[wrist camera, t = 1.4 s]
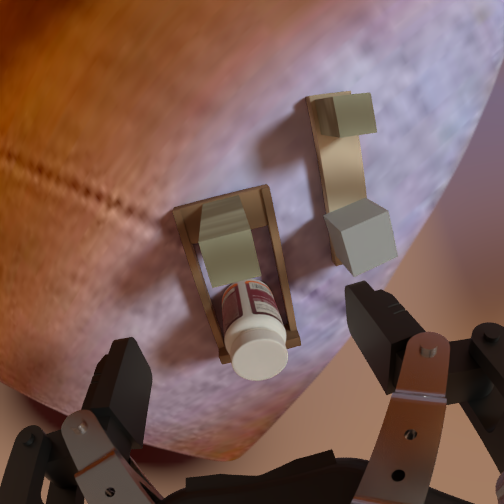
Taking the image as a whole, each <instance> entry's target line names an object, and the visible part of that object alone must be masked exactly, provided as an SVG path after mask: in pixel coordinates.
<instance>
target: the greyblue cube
mask: <svg viewBox="0 0 504 504" xmlns="http://www.w3.org/2000/svg"><path fill="white" fill-rule="evenodd" d="M323 216H324V219H325V222H326V225H327V228H328V232H329V235H330V238H331V241H332V244H333V247H334V250H335V254H336V256H337V258H338V259H339V260H340V261H341V262H342V264H343V265H344V266H345V267H346V268H347V269H348V271H349V272H350V273H351V274H352V275H353V277H355V276H358V275H360V274H362V273H364V272H366V271H368V270H370V269H373V268H375V267H377V266H379V265H381V264H383V263H385V262H387V261H389V260H391V259H393V258H396V257H398V255H397V250H396V245H395V240H394V235H393V230H392V225H391V221H390V216H389V212H388V210H386V209H384V208H383V207H381V206H379V205H377V204H376V203H374V202H372V201H370V200H369V199H367V198H363V199H361V200H358V201H356V202H354V203H351V204H349V205H346V206H344V207H342V208H339V209H337V210H335V211H332V212H330V213H328V214H325V215H323Z"/></svg>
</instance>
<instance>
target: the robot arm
mask: <svg viewBox="0 0 504 504" xmlns="http://www.w3.org/2000/svg"><path fill="white" fill-rule="evenodd" d="M345 301H346V314H347V324H348V328H349V331H350V333H351V335H352V337H353V339H354V340H355V342H356V344H357V345H358V347H359V349H360V350H361V352H362V354H363V355H364V357H365V359H366V360H367V362H368V364H369V366H370V367H371V369H372V371H373V372H374V374H375V375H376V378H377V379H378V381H379V383H380V384H381V386H382V388H383V390H384V391H385V393H386V395H388V394H391V393H392V396H391V400H390V403H389V406H388V409H387V412H386V416H385V418H384V422H383V424H382V428H381V430H380V433H379V436H378V439H377V442H376V445H375V447H374V450H373V452H372V455H371V458H370V460H369V461H368V460H363V459H358V458H335V456H334V453H333V451H332V450H328V451H325V452H321V453H318V454H314V455H311V456H307V457H303V458H299V459H296V460H293V461H291V462H289V463H287V464H285V465H283V466H281V467H279V468H276V469H274V470H272V471H269V472H268V473H265V474H263V475H259V476H245V475H244V476H243V475H227V474H216V475H209V476H201V477H200V476H199V477H190V478H186V488H183V489H180V490H178V491H176V492H174V493H172V494H170V495H168V496H167V497H166V498H164V497H163V496H162V495H161V494H160V493H159V492H158V491H157V490H156V489H155V487H154V486H153V485H152V484H151V482H150V481H149V480H148V479H147V477H146V476H145V475H144V473H143V472H142V471H141V470H140V468H139V467H138V466H137V464H136V463H135V462H134V460H133V459H132V458H131V457H130V451H131V449H142V447H143V439H144V432H145V425H146V418H147V411H148V405H149V399H150V392H151V386H152V373H151V369H150V367H149V365H148V363H147V361H146V359H145V357H144V355H143V354H142V352H141V350H140V348H139V346H138V344H137V342H136V340H135V339H134V338H133V337H129V338H123V339H118V340H114V341H113V343H112V345H111V348H110V351H109V354H107V355H105V356H104V357H103V358H102V359H101V360H100V362H99V363H98V364H97V367H96V369H95V372H94V376H93V377H92V380H91V384H90V386H89V388H88V391H87V394H86V397H85V400H84V403H83V406H82V409H81V410H79V411H76V412H74V413H72V414H71V415H69V416H68V417H67V418H66V419H65V421H64V423H63V425H62V429H61V430H58V431H55V432H52V433H49V434H46V433H45V432H44V431H43V430H41V428H40V427H38V426H36V425H31V426H28V427H26V428H24V429H23V430H22V431H21V432H20V433H19V434H18V436H17V437H16V439H15V442H14V445H13V448H12V451H11V454H10V457H9V460H8V463H7V466H6V469H5V473H4V476H3V479H2V483H1V486H0V504H44V503H43V502H42V499H41V489H42V485H43V480H44V476H45V477H46V478H47V479H48V480H50V486H49V490H48V495H47V501H46V504H84V498H85V499H86V501H87V503H88V504H474V503H471V502H468V501H465V500H462V499H460V498H457V497H454V496H451V495H448V494H446V493H444V492H441V491H438V490H436V489H433V488H431V487H429V485H430V481H431V477H432V474H433V470H434V465H435V462H436V457H437V453H438V448H439V444H440V439H441V434H442V428H443V422H444V417H445V410H446V405H449V404H455V403H459V404H460V405H461V407H462V408H463V410H464V412H465V413H466V415H467V416H468V418H469V420H470V421H471V423H472V425H473V426H474V428H475V430H476V431H477V433H478V435H479V436H480V438H481V439H482V441H483V443H484V445H485V447H486V448H487V450H488V452H489V454H490V455H491V457H492V459H493V461H494V462H495V464H496V466H497V468H498V470H499V472H500V474H501V475H500V476H499V478H498V480H497V483H496V495H497V499H498V504H504V327H503V326H501V325H499V324H496V323H482V324H480V325H478V326H476V327H475V328H474V330H473V332H472V336H471V338H470V339H465V340H458V341H451V342H448V340H447V339H446V338H445V337H444V336H442V335H440V334H438V333H434V332H426V331H425V330H424V329H423V328H422V327H421V326H420V325H419V324H418V322H417V321H416V320H415V319H414V318H413V317H412V316H411V315H410V314H409V312H408V311H407V310H405V308H404V307H403V306H402V305H401V304H399V302H398V300H397V299H396V298H395V297H394V296H393V295H392V294H390V293H388V292H385V291H383V290H381V289H380V290H377V291H374V290H373V289H372V288H371V286H370V285H369V284H368V283H367V282H366V281H361V282H357V283H354V284H351V285H347V286H345Z"/></svg>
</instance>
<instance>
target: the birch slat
mask: <svg viewBox="0 0 504 504" xmlns="http://www.w3.org/2000/svg"><path fill="white" fill-rule="evenodd" d="M306 102H307V107H308V111H309V116H310V121H311V126H312V132H313V137H314V142H315V148H316V153H317V159H318V165H319V171H320V177H321V183H322V189H323V196H324V202H325V209H326V214H328V213H330V212H332V211H335V210H337V209H339V208H342V207H344V206H346V205H349V204H351V203H354V202H356V201H358V200H361V199H363V198H367V196H366V187H365V178H364V170H363V162H362V155H361V148H360V141H359V135H362V134H369V133H376V132H377V129H376V122H375V116H374V110H373V104H372V99H371V93H361V94H351V91H346V92H337V93H328V94H320V95H313V96H307V97H306ZM329 238H330V235H329ZM330 246H331V255H332V262H333V263H334V264H335V265H336V266H338V265H342V262H341V261H340V260H339V259H338V258H337V256H336V254H335V250H334V247H333V244H332V241H331V238H330Z"/></svg>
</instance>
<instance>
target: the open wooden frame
mask: <svg viewBox="0 0 504 504" xmlns="http://www.w3.org/2000/svg"><path fill="white" fill-rule="evenodd" d="M172 212H173V215H174V219H175V222H176V225H177V228H178V232H179V235H180V238H181V241H182V244H183V247H184V250H185V254H186V257H187V260H188V263H189V266H190V269H191V272H192V275H193V278H194V281H195V284H196V287H197V290H198V293H199V295H200V298H201V301H202V304H203V307H204V310H205V313H206V315H207V318H208V321H209V324H210V327H211V329H212V332H213V335H214V338H215V340H216V343H217V346H218V348H219V358H220V361H221V363H222V364H226V363H231V357H230V354H229V353H228V351H227V349H226V347H225V342H224V337H223V335H222V332H221V329H220V326H219V323H218V320H217V317H216V314H215V311H214V308H213V305H212V302H211V299H210V296H209V293H208V290H207V287H206V284H205V281H204V278H203V275H202V272H201V268H200V265H199V262H198V259H197V256H196V253H195V249H194V246H193V244H195V243H199V246H200V249H201V253H202V256H203V259H204V263H205V266H206V269H207V272H208V275H209V279H210V282H211V285H212V288H214V287H218V286H222V285H227V284H231V283H235V282H239V281H243V280H247V279H251V278H255V277H259V276H261V271H260V267H259V263H258V259H257V254H256V250H255V246H254V241H253V237H252V233H251V229H255V228H259V227H263V226H267V225H268V228H269V233H270V238H271V242H272V247H273V252H274V257H275V262H276V267H277V271H278V276H279V281H280V286H281V291H282V296H283V301H284V306H285V311H286V316H287V321H288V324H285V325H284V327H285V330H286V343H285V346H286V349H289V348H293V347H296V346H300V345H301V341H300V336H299V334H298V331H297V327H296V322H295V316H294V311H293V305H292V300H291V294H290V289H289V283H288V278H287V273H286V268H285V262H284V257H283V252H282V247H281V242H280V237H279V232H278V227H277V222H276V217H275V212H274V207H273V202H272V197H271V193H270V188H269V186H268V185H267V184H265V185H261V186H257V187H252V188H248V189H244V190H240V191H236V192H232V193H228V194H224V195H220V196H216V197H212V198H208V199H204V200H200V201H196V202H193V203H189V204H185V205H181V206H178V207H174V209H173V211H172Z"/></svg>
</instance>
